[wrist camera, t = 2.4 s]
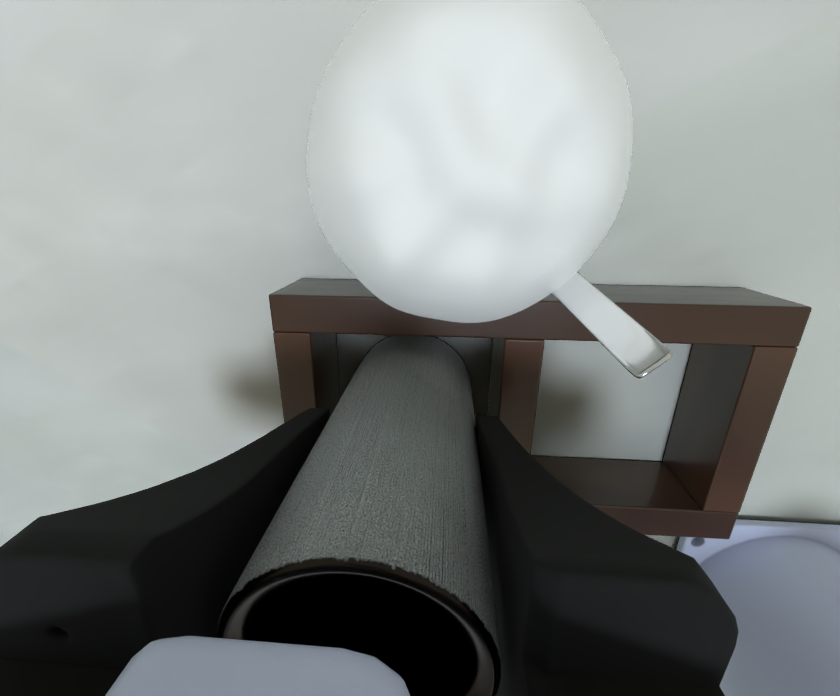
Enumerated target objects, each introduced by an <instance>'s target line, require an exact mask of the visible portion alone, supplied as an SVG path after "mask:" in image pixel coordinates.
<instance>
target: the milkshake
mask: <svg viewBox="0 0 840 696" xmlns="http://www.w3.org/2000/svg"><path fill="white" fill-rule="evenodd" d="M632 147H633V116H632V105H631V98H630V93H629V88H628V85H627V81H626V78H625V76H624V73H623V71H622V69H621V67H620V64H619V62H618V60H617V58H616V56H615V54H614V53H613V51H612V49H611V47H610V45H609V43H608V42H607V40H606V38H605V37H604V35H603V33H602V32H601V30H600V28H599V27H598V25H597V24H596V22H595V21H594V19H593V17H592V16H591V15H590V13H589V12H588V10H587V9H586V8H585V7H584V5H583V4H582V3H581V2H580V1H579V0H376V1H375V2H374V3H373V4H372V5H371V6H370V7H369V8H368V9H367V10H366V11H365V12H364V14H363V15H362V16H361V17H360V18H359V19H358V20H357V22H356V23H355V24H354V25H353V27H352V28H351V29H350V30H349V32H348V33H347V34H346V36H345V37H344V39H343V40H342V42H341V43H340V45H339V46H338V48H337V49H336V51H335V53H334V54H333V56H332V58H331V60H330V62H329V63H328V65H327V67H326V70H325V72H324V74H323V76H322V79H321V81H320V84H319V87H318V90H317V93H316V96H315V100H314V104H313V108H312V113H311V119H310V125H309V134H308V144H307V183H308V190H309V196H310V200H311V204H312V207H313V211H314V214H315V217H316V219H317V222H318V224H319V226H320V229H321V231H322V233H323V235H324V236H325V238H326V240H327V242H328V243H329V245H330V246H331V248H332V249H333V251H334V252H335V253H336V255H337V256H338V257H339V259H340V260H341V261H342V262H343V263H344V265H345V266H346V267H347V268H348V269H349V270H350V271H351V272H352V273H353V275H354V276H355V277H356V278H357V279H358V280H359V281H360V282H361V283H362V284H363V285H364V286H365V287H366V288H367V289H368V290H369V291H370V292H372V293H373V294H374V295H375V296H376V297H377V298H379V299H380V300H382V301H383V302H385V303H386V304H388V305H390V306H391V307H393V308H395V309H398V310H400V311H403V312H406V313H409V314H413V315H417V316H421V317H427V318H433V319H438V320H444V321H450V322H460V323H480V322H488V321H493V320H497V319H501V318H504V317H507V316H510V315H513V314H515V313H517V312H520V311H522V310H524V309H526V308H528V307H530V306H531V305H533V304H535V303H537V302H538V301H540V300H542V299H543V298H545V297H546V296H548V295H549V294H551V293H552V294H553V295H554V296H555V297H556V298H557V299H558V300H559V301H560V302H561V303H562V304H563V305H564V306H565V307H566V308H567V309H568V310H569V311H570V312H571V313H572V314H573V315H574V316H575V317H576V318H577V319H578V320H579V321H580V322H581V323H582V324H583V325H584V326H585V327H586V328H587V329H588V331H589V332H590V333H591V334H592V335H593V336H594V337H595V338H596V339H597V340H598V341H599V342H600V343H601V344H602V345H603V346H604V347H605V348H606V349H607V350H608V351H609V352H610V353H611V354H612V355H613V356H614V357H615V358H616V359H617V360H618V361H619V362H620V363H621V364H622V365H623V366H624V367H625V368H626V369H627V370H628V371H629V372H630V373H631V374H632V375H634V376H635V377H637V378H642V377H644V376H646V375H647V374H649V373H650V372H652V371H653V370H655V369H656V368H657V367H659V366H660V365H662V364H663V363H664V362H666V361H667V360H668V359H670V358H671V356H672V353H671V351H670V350H669V349H668V348H667V347H666V346H665V345H664V344H662V343H661V342H660V341H659V340H658V339H657V338H655V337H654V336H653V335H652V334H651V333H649V332H648V331H647V330H646V329H645V328H644V327H642V326H641V325H640V324H639V323H638V322H636V321H635V320H634V319H633V318H632V317H630V316H629V315H628V314H627V313H626V312H624V311H623V310H622V309H621V308H620V307H618V306H617V305H616V304H615V303H614V302H613V301H611V300H610V299H609V298H608V297H607V296H605V295H604V294H603V293H602V292H601V291H599V290H598V289H597V288H596V287H595V286H593V285H592V284H591V283H590V282H589V281H587V280H586V279H585V278H584V277H583V276H582V275H580V274H579V273H578V272H577V271H578V270H579V269H580V268H581V267H582V266H583V265H584V264H585V262H586V261H587V260H588V259H589V258H590V257H591V255H592V254H593V253H594V252H595V250H596V249H597V248H598V247H599V245H600V244H601V242H602V241H603V239H604V238H605V236H606V235H607V233H608V232H609V230H610V228H611V226H612V225H613V223H614V221H615V219H616V217H617V214H618V212H619V210H620V207H621V204H622V201H623V198H624V195H625V191H626V187H627V183H628V178H629V173H630V166H631V158H632Z"/></svg>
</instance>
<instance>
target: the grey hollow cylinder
mask: <svg viewBox="0 0 840 696" xmlns="http://www.w3.org/2000/svg"><path fill="white" fill-rule="evenodd" d="M217 638H223V639H235V640H247V641H260V642H272V643H284V644H296V645H309V646H321V647H333V648H343V649H347V650H351V651H354V652H358V653H362V654H366V655H370V656H374V657H376V658H377V659H378V660H380V661H381V662H382V663H384V664H385V665H387V666H388V667H389V668H391V669H392V670H393V671H395V672H396V673H397V674H399V675H400V677H401V678H402V679H403V680H404V682H405V684H406V687H407V689H408V692H409V694H410V696H496V695H497V692H498V689H499V686H500V682H501V676H502V660H501V648H500V638H499V629H498V620H497V611H496V602H495V593H494V584H493V576H492V567H491V558H490V549H489V540H488V531H487V523H486V514H485V505H484V496H483V487H482V479H481V470H480V461H479V453H478V446H477V437H476V426H475V417H474V408H473V399H472V390H471V383H470V379H469V375H468V371H467V369H466V366H465V364H464V363H463V361H462V359H461V358H460V356H459V355H458V354H457V353H456V352H455V351H454V350H453V349H452V348H451V347H450V346H449V345H447V344H446V343H444V342H443V341H441V340H439V339H437V338H434V337H432V336H407V335H395V336H392V337H389V338H387V339H385V340H383V341H381V342H379V343H378V344H377V345H375V346H374V347H373V348H372V349H371V350H370V351H369V352H368V353H367V355H366V356H365V357H364V359H363V360H362V362H361V363H360V365H359V367H358V368H357V370H356V372H355V374H354V375H353V377H352V379H351V381H350V383H349V384H348V386H347V388H346V390H345V391H344V393H343V395H342V397H341V399H340V400H339V402H338V404H337V406H336V407H335V409H334V411H333V413H332V415H331V416H330V418H329V420H328V422H327V423H326V425H325V427H324V429H323V431H322V432H321V434H320V436H319V438H318V439H317V441H316V443H315V445H314V447H313V448H312V450H311V452H310V454H309V455H308V457H307V459H306V461H305V463H304V464H303V466H302V468H301V470H300V471H299V473H298V475H297V477H296V479H295V480H294V482H293V484H292V486H291V487H290V489H289V491H288V493H287V495H286V496H285V498H284V500H283V502H282V503H281V505H280V507H279V509H278V510H277V512H276V514H275V516H274V518H273V519H272V521H271V523H270V525H269V526H268V528H267V530H266V532H265V534H264V535H263V537H262V539H261V541H260V542H259V544H258V546H257V548H256V550H255V551H254V553H253V555H252V557H251V558H250V560H249V562H248V564H247V566H246V567H245V569H244V571H243V573H242V575H241V576H240V578H239V580H238V582H237V583H236V585H235V587H234V589H233V591H232V593H231V594H230V596H229V598H228V600H227V602H226V604H225V606H224V608H223V610H222V612H221V615H220V618H219V622H218V628H217Z"/></svg>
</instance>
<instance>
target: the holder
mask: <svg viewBox="0 0 840 696" xmlns="http://www.w3.org/2000/svg"><path fill="white" fill-rule="evenodd" d="M593 286H595V287H596V288H597V289H598V290H599V291H601V292H602V293H603V294H604V295H605V296H607V297H608V298H609V299H610V300H611V301H613V302H614V303H615V304H616V305H617V306H618V307H620V308H621V309H622V310H623V311H624V312H626V313H627V314H628V315H629V316H630V317H632V318H633V319H634V320H635V321H636V322H638V323H639V324H640V325H641V326H642V327H644V328H645V329H646V330H647V331H648V332H649V333H651V334H652V335H653V336H654V337H655V338H657V339H658V340H659V341H660V342H661V343H680V344H693V347H692V350H691V354H690V358H689V362H688V366H687V370H686V374H685V377H684V381H683V385H682V389H681V393H680V397H679V401H678V404H677V408H676V412H675V416H674V420H673V424H672V427H671V431H670V435H669V439H668V443H667V447H666V451H665V454H664V458H663V462H649V461H628V460H607V459H586V458H565V457H544V456H532V457H533V458H534V459H535V460H536V461H537V462H538V463H539V464H540V465H541V466H542V467H543V468H544V469H546V470H547V471H548V472H549V473H550V474H551V475H552V476H554V477H555V478H556V479H557V480H558V481H560V482H561V483H562V484H563V485H565V486H566V487H567V488H569V489H570V490H571V491H572V492H574V493H575V494H577V495H578V496H579V497H581V498H582V499H584V500H585V501H587V502H588V503H590V504H591V505H593V506H594V507H596V508H597V509H599V510H601V511H602V512H604V513H605V514H607V515H609V516H610V517H612V518H614V519H616V520H617V521H619V522H621V523H623V524H624V525H626V526H628V527H630V528H632V529H634V530H636V531H637V532H639V533H641V534H644V535H661V536H678V537H695V538H712V539H730V536H731V533H732V530H733V528H734V525H735V522H736V519H737V516H738V512H740V509H741V506H742V503H743V500H744V498H745V495H746V492H747V489H748V486H749V484H750V481H751V478H752V475H753V472H754V470H755V467H756V464H757V461H758V458H759V456H760V453H761V450H762V447H763V444H764V442H765V439H766V436H767V433H768V430H769V428H770V425H771V422H772V419H773V416H774V414H775V411H776V408H777V405H778V402H779V400H780V397H781V394H782V391H783V388H784V386H785V383H786V380H787V377H788V374H789V372H790V369H791V366H792V363H793V360H794V358H795V355H796V352H797V348H796V347H797V346H798V345H799V343H800V340H801V337H802V335H803V332H804V329H805V326H806V323H807V321H808V318H809V315H810V312H811V307H809V306H805V305H802V304H798V303H795V302H791V301H788V300H784V299H781V298H777V297H774V296H770V295H767V294H763V293H760V292H756V291H753V290H749V289H746V288H735V287H687V286H638V285H593ZM269 301H270V309H271V317H272V325H273V331H275V332H274V333H273V335H274V343H275V351H276V359H277V366H278V374H279V382H280V390H281V398H282V406H283V414H284V422H287V421H289V420H290V419H292V418H293V417H295V416H297V415H298V414H300V413H302V412H303V411H305V410H307V409H309V408H322V409H329V410H330V416H331V415H332V413H333V411H334V409H335V407H336V406H337V404H338V402H339V400H340V389H339V374H338V360H337V345H336V333H339V334H373V335H407V336H441V337H475V338H493V348H492V362H491V375H490V388H489V402H488V416H498V417H499V419H500V420H501V421H502V422H503V423H504V425H505V426H506V427H507V428H508V430H509V431H510V432H511V433H512V435H513V436H514V437H515V438H516V439H517V441H518V442H519V443H520V444H521V445H522V446H523V447H524V448H525V449H526V451H527V452H528V453H529V454H530V455H531V447H532V439H533V431H534V423H535V415H536V407H537V398H538V390H539V382H540V374H541V366H542V358H543V349H544V340H577V341H598V340H597V339H596V338H595V337H594V336H593V335H592V334H591V333H590V332H589V331H588V329H587V328H586V327H585V326H584V325H583V324H582V323H581V322H580V321H579V320H578V319H577V318H576V317H575V316H574V315H573V314H572V313H571V312H570V311H569V310H568V309H567V308H566V307H565V306H564V305H563V304H562V303H561V302H560V301H559V300H558V299H557V298H556V297H555V296H554V295H553V294H552V293H551V294H549V295H548V296H546V297H545V298H543V299H542V300H540V301H538V302H537V303H535V304H533V305H531V306H530V307H528V308H526V309H524V310H522V311H520V312H517V313H515V314H513V315H510V316H507V317H504V318H501V319H497V320H493V321H488V322H480V323H460V322H450V321H444V320H438V319H433V318H427V317H421V316H417V315H413V314H409V313H406V312H403V311H400V310H398V309H395V308H393V307H391V306H390V305H388V304H386V303H385V302H383V301H382V300H380V299H379V298H377V297H376V296H375V295H374V294H373V293H372V292H370V291H369V290H368V289H367V288H366V287H365V286H364V285H363V284H362V283H361V282H360V281H359V280H345V279H300V280H298V281H296V282H294V283H292V284H290V285H288V286H286V287H284V288H282V289H280V290H278V291H276V292H274V293H272V294H270V295H269Z"/></svg>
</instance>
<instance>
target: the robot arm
mask: <svg viewBox="0 0 840 696" xmlns="http://www.w3.org/2000/svg"><path fill="white" fill-rule="evenodd" d="M329 418H330V410H329V409H322V408H309V409H307V410H305V411H303V412H302V413H300V414H298V415H297V416H295V417H293V418H292V419H290V420H289V421H287V422H285V423H284V424H282V425H281V426H279V427H277V428H276V429H274V430H272V431H271V432H269V433H268V434H266V435H264V436H263V437H261V438H259V439H257V440H256V441H254V442H252V443H250V444H249V445H247V446H245V447H243V448H241V449H240V450H238V451H236V452H234V453H232V454H230V455H228V456H227V457H224V458H222V459H220V460H218V461H216V462H214V463H212V464H210V465H207V466H205V467H203V468H201V469H199V470H196V471H194V472H191V473H189V474H186V475H183V476H181V477H178V478H176V479H173V480H170V481H168V482H165V483H162V484H160V485H157V486H154V487H151V488H148V489H145V490H142V491H139V492H136V493H133V494H129V495H126V496H123V497H119V498H116V499H112V500H109V501H105V502H101V503H98V504H94V505H89V506H85V507H81V508H77V509H73V510H68V511H64V512H60V513H56V514H51V515H47V516H42V517H39V518H37V519H36V520H35V521H33V522H32V523H31V524H29V525H28V526H27V527H26V528H24V529H23V530H22V531H20V532H19V533H18V534H17V535H15V536H14V537H13V538H12V539H10V540H9V541H8V542H6V543H5V544H4V545H3V546H1V547H0V696H410V694H409V692H408V689H407V687H406V684H405V682H404V680H403V679H402V678H401V677H400V675H399V674H397V673H396V672H395V671H393V670H392V669H391V668H389V667H388V666H387V665H385V664H384V663H382V662H381V661H380V660H378V659H377V658H376V657H374V656H370V655H366V654H362V653H358V652H354V651H351V650H347V649H343V648H333V647H321V646H309V645H296V644H284V643H272V642H260V641H247V640H235V639H223V638H217V628H218V622H219V618H220V615H221V612H222V610H223V608H224V606H225V604H226V602H227V600H228V598H229V596H230V594H231V593H232V591H233V589H234V587H235V585H236V583H237V582H238V580H239V578H240V576H241V575H242V573H243V571H244V569H245V567H246V566H247V564H248V562H249V560H250V558H251V557H252V555H253V553H254V551H255V550H256V548H257V546H258V544H259V542H260V541H261V539H262V537H263V535H264V534H265V532H266V530H267V528H268V526H269V525H270V523H271V521H272V519H273V518H274V516H275V514H276V512H277V510H278V509H279V507H280V505H281V503H282V502H283V500H284V498H285V496H286V495H287V493H288V491H289V489H290V487H291V486H292V484H293V482H294V480H295V479H296V477H297V475H298V473H299V471H300V470H301V468H302V466H303V464H304V463H305V461H306V459H307V457H308V455H309V454H310V452H311V450H312V448H313V447H314V445H315V443H316V441H317V439H318V438H319V436H320V434H321V432H322V431H323V429H324V427H325V425H326V423H327V422H328V420H329ZM476 437H477V446H478V453H479V461H480V470H481V479H482V487H483V496H484V505H485V514H486V523H487V531H488V540H489V549H490V558H491V567H492V576H493V584H494V593H495V602H496V611H497V620H498V629H499V638H500V648H501V660H502V676H501V682H500V686H499V689H498V692H497V695H496V696H840V525H831V524H813V523H795V522H777V521H759V520H742V519H736V522H735V525H734V528H733V530H732V533H731V536H730V539H712V538H695V537H680V539H679V543H678V546H677V549H673V548H671V547H669V546H667V545H665V544H662V543H660V542H658V541H656V540H654V539H651V538H649V537H647V536H645V535H643V534H641V533H639V532H637V531H636V530H634V529H632V528H630V527H628V526H626V525H624V524H623V523H621V522H619V521H617V520H616V519H614V518H612V517H610V516H609V515H607V514H605V513H604V512H602V511H601V510H599V509H597V508H596V507H594V506H593V505H591V504H590V503H588V502H587V501H585V500H584V499H582V498H581V497H579V496H578V495H577V494H575V493H574V492H572V491H571V490H570V489H569V488H567V487H566V486H565V485H563V484H562V483H561V482H560V481H558V480H557V479H556V478H555V477H554V476H552V475H551V474H550V473H549V472H548V471H547V470H546V469H544V468H543V467H542V466H541V465H540V464H539V463H538V462H537V461H536V460H535V459H534V458H533V457H532V456H531V455H530V454H529V453H528V452H527V451H526V449H525V448H524V447H523V446H522V445H521V444H520V443H519V442H518V441H517V439H516V438H515V437H514V436H513V435H512V433H511V432H510V431H509V430H508V428H507V427H506V426H505V425H504V423H503V422H502V421H501V420H500V419H499V417H498V416H488V415H477V418H476ZM694 538H695V539H694Z"/></svg>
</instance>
